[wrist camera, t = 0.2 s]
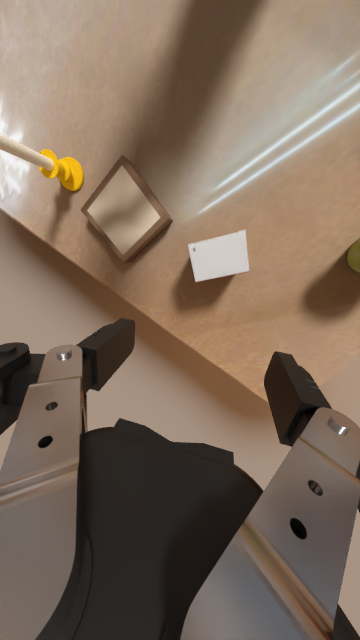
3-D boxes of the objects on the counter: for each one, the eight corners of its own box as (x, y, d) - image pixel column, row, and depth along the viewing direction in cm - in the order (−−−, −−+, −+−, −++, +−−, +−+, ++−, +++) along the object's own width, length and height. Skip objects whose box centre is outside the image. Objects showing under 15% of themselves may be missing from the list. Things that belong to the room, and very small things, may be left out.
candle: (54, 171, 36) (-52, 125, 22) (71, 150, 35) (-34, 85, 20) (72, 197, 38) (-19, 168, 23) (89, 178, 36) (1, 134, 21)
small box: (200, 273, 38) (193, 283, 28) (195, 244, 36) (185, 244, 27) (242, 265, 36) (250, 272, 26) (238, 233, 34) (245, 229, 24)
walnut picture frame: (90, 212, 38) (80, 209, 35) (130, 162, 33) (121, 154, 30) (130, 261, 40) (123, 263, 37) (172, 220, 35) (168, 218, 32)
